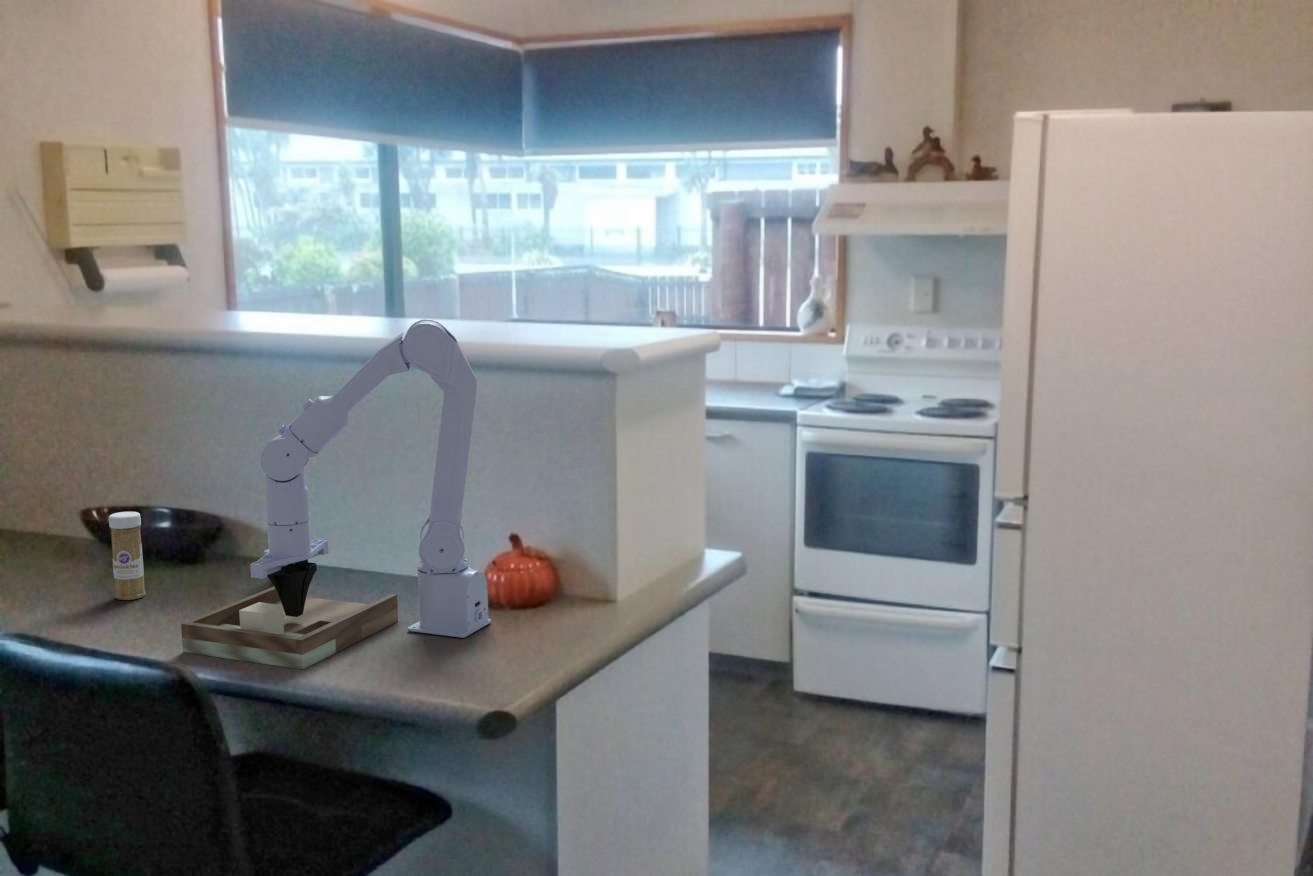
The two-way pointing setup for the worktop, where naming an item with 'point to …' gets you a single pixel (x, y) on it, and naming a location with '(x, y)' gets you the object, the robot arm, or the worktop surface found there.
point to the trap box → (288, 630)
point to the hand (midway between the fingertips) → (294, 615)
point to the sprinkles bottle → (127, 555)
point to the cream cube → (262, 618)
